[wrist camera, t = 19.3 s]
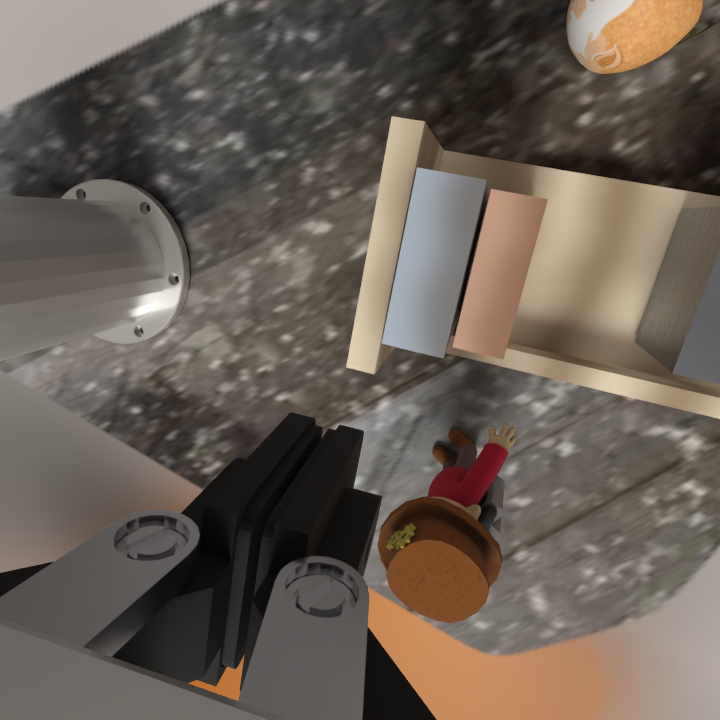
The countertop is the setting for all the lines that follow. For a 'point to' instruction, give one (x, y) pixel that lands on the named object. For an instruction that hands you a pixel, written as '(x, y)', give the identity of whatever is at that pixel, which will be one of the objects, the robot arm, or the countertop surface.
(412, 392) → the countertop surface
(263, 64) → the countertop surface
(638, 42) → the helmet
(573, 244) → the book rack
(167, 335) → the countertop surface
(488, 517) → the toy
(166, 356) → the countertop surface
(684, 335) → the bookend
